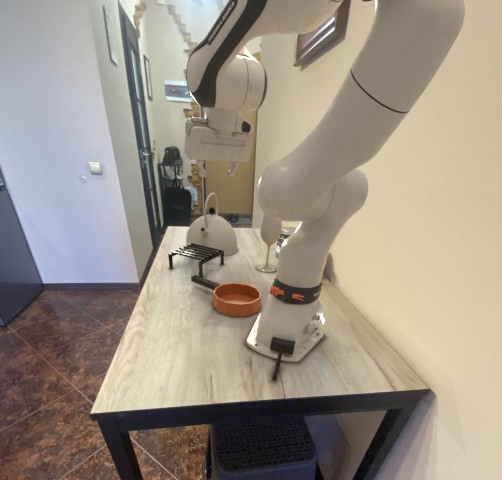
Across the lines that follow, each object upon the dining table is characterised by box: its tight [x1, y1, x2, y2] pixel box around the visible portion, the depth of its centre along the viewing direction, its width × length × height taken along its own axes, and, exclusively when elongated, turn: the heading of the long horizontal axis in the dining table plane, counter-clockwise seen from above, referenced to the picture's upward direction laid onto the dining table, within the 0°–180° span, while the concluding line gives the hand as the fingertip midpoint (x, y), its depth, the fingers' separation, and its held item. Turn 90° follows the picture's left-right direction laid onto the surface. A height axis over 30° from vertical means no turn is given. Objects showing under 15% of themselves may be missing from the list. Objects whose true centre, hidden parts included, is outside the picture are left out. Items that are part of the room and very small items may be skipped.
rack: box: [167, 243, 225, 278], centre depth 107 cm, size 16×14×6 cm
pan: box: [190, 274, 262, 318], centre depth 87 cm, size 25×14×4 cm, turn 55°
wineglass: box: [256, 213, 282, 273], centre depth 107 cm, size 8×8×21 cm
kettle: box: [185, 192, 238, 258], centre depth 121 cm, size 25×23×23 cm
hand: (216, 177), depth 85 cm, fingers open, 8 cm apart
